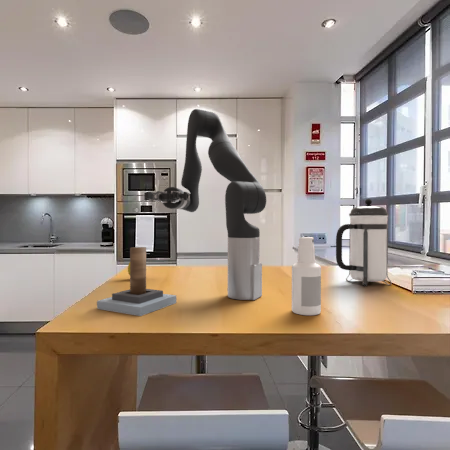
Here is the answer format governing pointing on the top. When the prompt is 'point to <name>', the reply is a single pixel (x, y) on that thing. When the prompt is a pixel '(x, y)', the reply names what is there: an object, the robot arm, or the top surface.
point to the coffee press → (366, 244)
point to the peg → (138, 270)
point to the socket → (136, 302)
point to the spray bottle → (306, 280)
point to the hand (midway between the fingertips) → (160, 194)
